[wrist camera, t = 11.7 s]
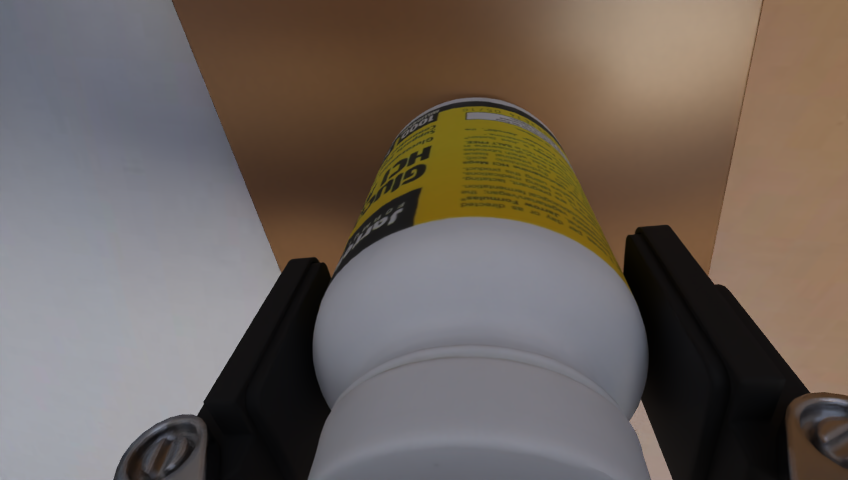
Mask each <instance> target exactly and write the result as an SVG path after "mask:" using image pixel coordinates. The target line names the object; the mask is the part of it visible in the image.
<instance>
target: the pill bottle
mask: <svg viewBox="0 0 848 480" xmlns="http://www.w3.org/2000/svg"><path fill="white" fill-rule="evenodd" d="M313 363H314V368H315V373H316V377H317V380H318V383H319V386H320V389H321V392H322V394H323V397H324V399H325V400H326V402H327V404H328V406H329V408H330V409H331V412H330V414H329V416H328V418H327V419H326V421H325V424H324V427H323V429H322V432H321V435H320V439H319V443H318V447H317V451H316V454H315V458H314V461H313V464H312V467H311V470H310V474H309V477H308V480H651V479H650V475H649V472H648V469H647V466H646V463H645V460H644V456H643V452H642V448H641V445H640V442H639V439H638V437H637V434H636V432H635V430H634V429H633V427H632V425H631V424H630V422H629V420H630V419H631V417H632V416H633V414H634V413H635V411H636V409H637V407H638V405H639V402H640V400H641V397H642V395H643V391H644V388H645V384H646V380H647V374H648V364H649V349H648V341H647V335H646V329H645V326H644V323H643V320H642V317H641V314H640V311H639V308H638V305H637V303H636V300H635V298H634V296H633V294H632V292H631V290H630V287H629V285H628V283H627V281H626V279H625V277H624V275H623V273H622V270H621V268H620V266H619V264H618V262H617V261H616V259H615V257H614V255H613V252H612V250H611V248H610V246H609V244H608V242H607V240H606V238H605V236H604V234H603V232H602V229H601V227H600V225H599V223H598V221H597V219H596V217H595V214H594V212H593V211H592V208H591V206H590V204H589V202H588V200H587V198H586V196H585V194H584V192H583V190H582V188H581V185H580V183H579V181H578V179H577V177H576V175H575V172H574V171H573V168H572V166H571V164H570V162H569V160H568V158H567V156H566V154H565V152H564V150H563V148H562V147H561V145H560V143H559V142H558V140H557V139H556V137H555V136H554V135H553V133H552V132H551V131H550V130H549V129H548V128H547V126H546V125H545V124H543V123H542V122H541V121H540V120H539V119H537V118H536V117H535V116H534V115H532V114H531V113H529V112H528V111H526V110H524V109H522V108H520V107H518V106H516V105H514V104H511V103H508V102H505V101H501V100H497V99H490V98H461V99H455V100H451V101H448V102H444V103H442V104H439V105H436V106H434V107H432V108H430V109H428V110H426V111H425V112H423V113H422V114H420V115H419V116H417V117H416V118H415V119H413V120H412V121H411V122H410V123H409V124H408V125H406V126H405V128H404V129H403V130H402V131H401V132H400V133H399V135H398V136H397V137H396V138H395V140H394V141H393V143H392V145H391V146H390V148H389V150H388V152H387V154H386V155H385V157H384V160H383V162H382V164H381V166H380V168H379V171H378V173H377V176H376V178H375V181H374V183H373V185H372V187H371V190H370V192H369V195H368V197H367V199H366V201H365V204H364V206H363V209H362V211H361V213H360V216H359V218H358V220H357V222H356V224H355V226H354V229H353V231H352V233H351V234H350V237H349V239H348V241H347V244H346V246H345V249H344V251H343V254H342V256H341V258H340V260H339V263H338V265H337V267H336V269H335V271H334V273H333V276H332V278H331V280H330V282H329V285H328V287H327V290H326V292H325V294H324V296H323V298H322V300H321V303H320V306H319V312H318V315H317V318H316V323H315V328H314V334H313Z"/></svg>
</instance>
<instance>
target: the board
mask: <svg viewBox="0 0 848 480" xmlns="http://www.w3.org/2000/svg"><path fill="white" fill-rule="evenodd" d="M763 1H764V0H172V2H173V5H174V7H175V10H176V12H177V15H178V17H179V20H180V22H181V24H182V27H183V29H184V32H185V34H186V37H187V39H188V42H189V44H190V47H191V49H192V52H193V54H194V57H195V59H196V62H197V64H198V67H199V69H200V72H201V74H202V77H203V79H204V82H205V84H206V87H207V89H208V92H209V94H210V97H211V99H212V102H213V104H214V107H215V109H216V112H217V114H218V117H219V119H220V122H221V124H222V126H223V129H224V131H225V134H226V136H227V139H228V141H229V144H230V146H231V149H232V151H233V154H234V156H235V159H236V161H237V164H238V166H239V169H240V171H241V174H242V176H243V179H244V181H245V184H246V186H247V189H248V191H249V194H250V196H251V199H252V201H253V204H254V206H255V209H256V211H257V214H258V216H259V219H260V221H261V224H262V226H263V228H264V231H265V233H266V236H267V238H268V241H269V243H270V246H271V248H272V251H273V253H274V256H275V258H276V261H277V263H278V266H279V268H280V271H281V273H282V271H283V270H284V268H285V266H286V265H287V263H288V262H289V261H290V260H291V259H298V258H308V257H316V258H317V259H318V260H319V262H320V263H322V262H324V263H325V264H326V265H327V267H328V270H329V273H330V276H331V278H332V276H333V273H334V271H335V269H336V267H337V265H338V263H339V260H340V258H341V256H342V254H343V251H344V249H345V246H346V244H347V241H348V239H349V237H350V234H351V233H352V231H353V229H354V226H355V224H356V222H357V220H358V218H359V216H360V213H361V211H362V209H363V206H364V204H365V201H366V199H367V197H368V195H369V192H370V190H371V187H372V185H373V183H374V181H375V178H376V176H377V173H378V171H379V168H380V166H381V164H382V162H383V160H384V157H385V155H386V154H387V152H388V150H389V148H390V146H391V145H392V143H393V141H394V140H395V138H396V137H397V136H398V135H399V133H400V132H401V131H402V130H403V129H404V128H405V126H406V125H408V124H409V123H410V122H411V121H412V120H413V119H415V118H416V117H417V116H419V115H420V114H422V113H423V112H425V111H426V110H428V109H430V108H432V107H434V106H436V105H439V104H442V103H444V102H448V101H451V100H455V99H461V98H490V99H497V100H501V101H505V102H508V103H511V104H514V105H516V106H518V107H520V108H522V109H524V110H526V111H528V112H529V113H531V114H532V115H534V116H535V117H536V118H537V119H539V120H540V121H541V122H542V123H543V124H545V125H546V126H547V128H548V129H549V130H550V131H551V132H552V133H553V135H554V136H555V137H556V139H557V140H558V142H559V143H560V145H561V147H562V148H563V150H564V152H565V154H566V156H567V158H568V160H569V162H570V164H571V166H572V168H573V171H574V172H575V175H576V177H577V179H578V181H579V183H580V185H581V188H582V190H583V192H584V194H585V196H586V198H587V200H588V202H589V204H590V206H591V208H592V211H593V212H594V214H595V217H596V219H597V221H598V223H599V225H600V227H601V229H602V232H603V234H604V236H605V238H606V240H607V242H608V244H609V246H610V248H611V250H612V252H613V255H614V257H615V259H616V261H617V262H618V264H619V266H620V268H621V270H622V273H623V267H624V254H625V242H626V237H627V236H628V235H633V234H635V231H636V229H637V228H638V227H645V226H656V225H669V226H670V227H671V228H672V230H673V231H674V232H675V233H676V235H677V236H678V237H679V239H680V240H681V241H682V243H683V244H684V245H685V247H686V248H687V249H688V251H689V252H690V253H691V255H692V256H693V257H694V258H695V260H696V261H697V262H698V264H699V265H700V266H701V268H702V269H703V270H704V272H705V273H706V274H707V276H708V274H709V269H710V264H711V259H712V254H713V249H714V244H715V239H716V234H717V229H718V224H719V219H720V214H721V209H722V205H723V200H724V195H725V190H726V185H727V180H728V175H729V170H730V165H731V160H732V155H733V150H734V145H735V140H736V135H737V130H738V125H739V120H740V115H741V110H742V105H743V100H744V95H745V90H746V85H747V80H748V75H749V70H750V65H751V60H752V55H753V50H754V45H755V40H756V35H757V30H758V26H759V21H760V16H761V11H762V6H763Z"/></svg>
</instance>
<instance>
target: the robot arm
mask: <svg viewBox="0 0 848 480" xmlns="http://www.w3.org/2000/svg"><path fill="white" fill-rule="evenodd" d="M623 275H624V277H625V279H626V281H627V283H628V285H629V287H630V290H631V292H632V294H633V296H634V298H635V300H636V303H637V305H638V308H639V311H640V314H641V317H642V320H643V323H644V326H645V329H646V335H647V341H648V349H649V364H648V374H647V380H646V384H645V388H644V391H643V395H642V397H641V400H642V402H643V405H644V408H645V410H646V413H647V415H648V418H649V420H650V423H651V425H652V428H653V430H654V433H655V436H656V438H657V441H658V443H659V446H660V448H661V451H662V453H663V456H664V458H665V461H666V464H667V466H668V469H669V471H670V474H671V476H672V479H673V480H848V396H846V395H841V394H833V393H826V392H821V393H810V392H809V391H808V389H807V388H806V387H805V386H804V384H803V383H802V382H801V381H800V379H799V378H798V377H797V375H796V374H795V373H794V372H793V370H792V369H791V368H790V367H789V365H788V364H787V363H786V362H785V360H784V359H783V358H782V357H781V355H780V354H779V353H778V351H777V350H776V349H775V348H774V346H773V345H772V344H771V343H770V341H769V340H768V339H767V338H766V336H765V335H764V334H763V332H762V331H761V330H760V329H759V327H758V326H757V325H756V324H755V322H754V321H753V320H752V319H751V317H750V316H749V315H748V314H747V312H746V311H745V310H744V308H743V307H742V306H741V305H740V303H739V302H738V301H737V300H736V298H735V297H734V296H733V295H732V293H731V292H730V291H729V290H728V289H727V288H726V287H725V286H722V285H720V284H717V285H714V283H713V282H712V281H711V280H710V278H709V277H708V276H707V274H706V273H705V272H704V270H703V269H702V268H701V266H700V265H699V264H698V262H697V261H696V260H695V258H694V257H693V256H692V255H691V253H690V252H689V251H688V249H687V248H686V247H685V245H684V244H683V243H682V241H681V240H680V239H679V237H678V236H677V235H676V233H675V232H674V231H673V230H672V228H671V227H670V226H669V225H656V226H645V227H638V228H637V229H636V231H635V234H633V235H628V236H627V237H626V242H625V254H624V267H623ZM330 280H331V276H330V273H329V270H328V267H327V265H326V264H325V263H324V262H322V263H320V262H319V260H318V259H317V258H316V257H308V258H298V259H291V260H290V261H289V262H288V263H287V265H286V266H285V268H284V270H283V271H282V273H281V275H280V276H279V278H278V280H277V281H276V283H275V285H274V286H273V288H272V290H271V291H270V293H269V295H268V296H267V298H266V300H265V301H264V303H263V304H262V306H261V308H260V309H259V311H258V313H257V314H256V316H255V318H254V319H253V321H252V323H251V324H250V326H249V328H248V329H247V331H246V333H245V334H244V336H243V338H242V339H241V341H240V342H239V344H238V346H237V347H236V349H235V351H234V352H233V354H232V356H231V357H230V359H229V361H228V362H227V364H226V366H225V367H224V369H223V371H222V372H221V374H220V376H219V377H218V379H217V380H216V382H215V384H214V385H213V387H212V389H211V390H210V392H209V394H208V395H207V397H206V399H205V400H204V405H203V407H202V408H201V410H200V412H199V413H198V415H197V416H195V415H185V414H182V415H178V416H174V417H170V418H168V419H166V420H164V421H161V422H159V423H157V424H155V425H154V426H152V427H151V428H150V429H148V430H147V431H145V432H144V433H143V434H141V435H140V436H139V437H138V438H137V439H136V440H135V441H134V442H133V443H132V444H131V445H130V447H129V448H128V449H127V451H126V452H125V453H124V455H123V456H122V458H121V460H120V462H119V465H118V467H117V469H116V473H115V476H114V479H113V480H308V477H309V474H310V470H311V467H312V464H313V461H314V458H315V454H316V451H317V447H318V443H319V439H320V435H321V432H322V429H323V427H324V424H325V421H326V419H327V418H328V416H329V414H330V412H331V409H330V408H329V406H328V404H327V402H326V400H325V399H324V397H323V394H322V392H321V389H320V386H319V383H318V380H317V377H316V373H315V368H314V363H313V334H314V328H315V323H316V318H317V315H318V312H319V306H320V303H321V300H322V298H323V296H324V294H325V292H326V290H327V287H328V285H329V282H330Z"/></svg>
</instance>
